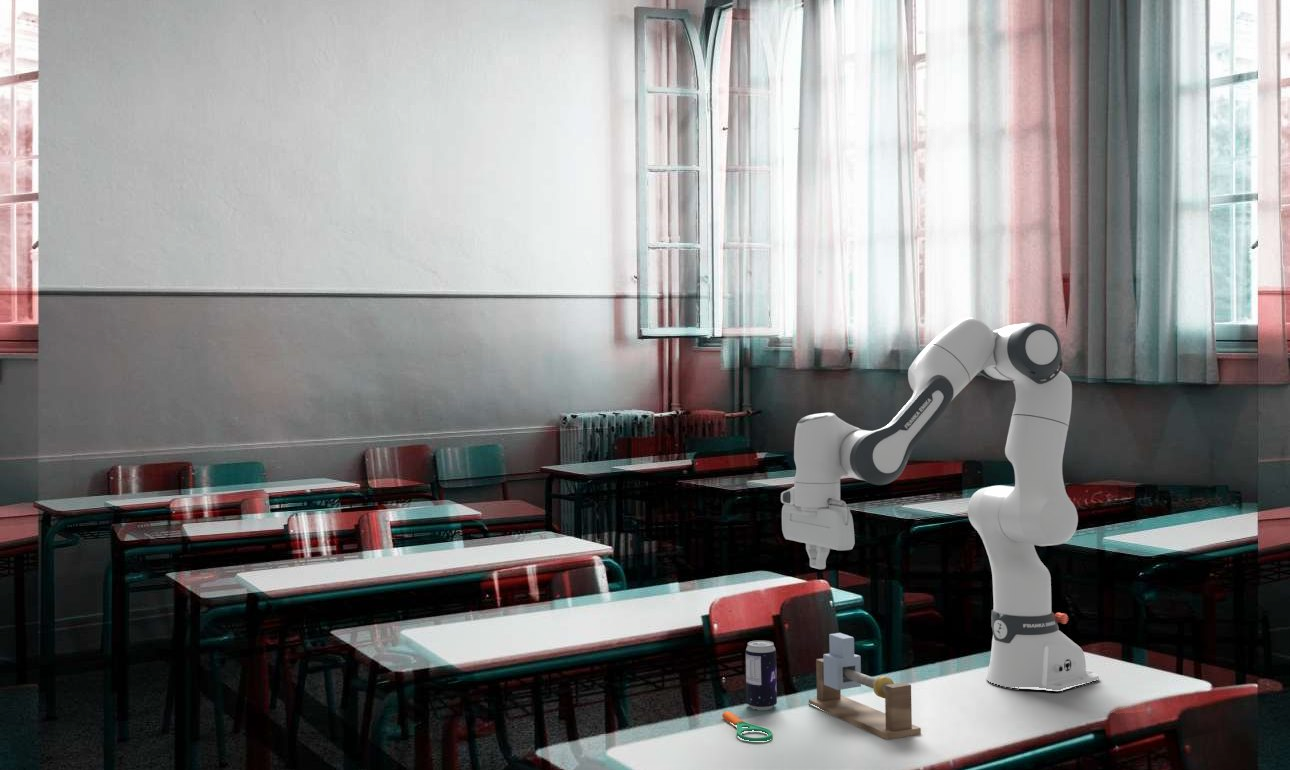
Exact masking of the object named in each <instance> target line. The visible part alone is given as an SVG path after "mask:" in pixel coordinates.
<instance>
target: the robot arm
mask: <svg viewBox="0 0 1290 770" xmlns="http://www.w3.org/2000/svg"><path fill="white" fill-rule="evenodd" d="M1062 354H1063V353H1062V344H1061V341H1060V338H1059V336H1058V334H1057V332H1056V331H1055V329H1053V328H1052V327H1050V326H1049V325H1047V324H1044V323H1041V322H1036V321H1028V322H1023V323H1014V324H1010V325H1009V324H1008V325H1006V326H1004V327H1002V328H1001V327H1000V328H998V329H994V330H992V329H990V327H989V326H988V325H987V324H986V323H985V322H983V321H982V320H979V319H977V318H974V317H964V318H961V319H959V320H957V321H955V322H954V323H952V324H951V325H949V326H948V327H947V328H945V329H944V330H942V332H940V333H939V334H938V335H937V336H936V337H934V339H932V340H931V341H930V342H929V343H928V344H927V345H926V346H925V347H924V348H923V349H922V350H921V351H920V352H919V354H918V355H917V356H916V357H915V358H914V360H913V361H912V363H911V364H910V366H909V368H908V369H907V370H908V371H907V379H908V384H909V386H910V388H911V390H912V391H913V392H912V396H911V397H910V399H909V400H908V401H907V402H906V404H904V406H903V407H902V408H901V409H900V411H898V412H897V414H896V415H895V416H894V417H893V418H892V420H890V422H889V423H888V424H887V425H885V426H883V427H880V428H879V429H875V430H866V429H861V428H859V427H857V426H854V425H852V424H850V423H848V422H846V421H845V420H843V419H841V418H839V417H838V416H837V415H836V414H835V413H833V412H820V413H813V414H809V415H806V416H804V417H801V418H800V420H798V422H797V423H796V427H795V432H794V442H793V443H794V446H793V460H794V464H795V468H796V469H795V470H796V471H795V476H794V479H793V481H794V482H793V484H794V485H793V487H791V488H788V489H787V490H784V491H782V492H781V493H780V502H781V503H782V504H783V505H782V508H781V531H782V534H783V537H784V539H785V540H789V541H794V542H798V543H801V544H802V543H804V544H805V550H806V552H807V555H808V558H809V567H810V568H814V569H818V570H825V569H826V568H827V565H826V563H827V558H828V556H829V554H830V551H831V550H836V551H850V550H853V548H854V546H855V544H856V543H855V541H856V540H855V529H854V526H855V525H854V519H853V515H852V513H851V509H850V507H849V506H848V505H847V503H846V501H844V500H842V499H841V478H842V477H843V476H846V477H848V478H852V479H854V480H855V479H856V480H860V481H865V482H867V483H869V484H871V485H874V486H875V485H876V486H884V485H888V484H890V483H892V482H894V481H896V480H897V479H899V477H900V476H901V475H902V473H903V472H904V471H905V468H906V467H907V464H908V462H909V459H910V456H911V454H912V451H914V450H913V449H914V448H915V447H916V445H917V444H918V443H919V441H920V440H921V439H923V437H924V436H925V434H926V433H928V431H929V430H930V429H931V428H932V426H933V425H934V424H935V422H937V421H938V419H939V418H940V417H941V416H942V415H943V413H944V412H945V411H946V409H948V408H947V407H948V406H949V405H950V404H951V402H952V401H953V400H954V399H955V398H956V397H957V395H958V394H960V392H962V390H963V389H964V388H965V387H966V386H967V385H968V384H969V383H970V382H972V381H973V379H974V378H975V377H976V376H977V374H981V375H982V376H984V377H986V378H987V379H990V380H993V381H997V382H1002V381H1003V382H1004V381H1012V382H1013V385H1014V389H1015V402H1014V407H1013V409H1012V414H1011V417H1010V423H1009V427H1008V432H1007V438H1006V443H1005V447H1004V454H1005V457H1006V458H1007V460H1008V461H1009V462H1010V463H1011V465H1012V467H1013V470H1014V483H1015V484H1014V486H1013V485H1012V486H1011V485H1005V484H1003V485H1002V484H1000V485H999V484H998V485H997V484H996V485H991V486H987V487H986V486H985V487H981V488H980V489H978V490H977V491H975V492H974V493H972V495H971V497H970V499H969V502H968V505H967V517H968V520H969V522H970V524H971V526H972V527H973V528H974V530H975V531H977V532H976V533H978V535H979V536H980V539H981V540H982V543H983V545H984V548H985V550H986V554H987V556H988V560H989V565H990V568H991V570H990V571H991V575H992V576H991V577H992V597H993V598H992V599H993V609H991V616H990V618H991V628H992V639H991V649H990V660H989V666H988V668H987V673H986V674H987V675H986V677H985V679H987V680H988V681H989V682H988V681H987V680H986V681H987V682H988V683H990V682H991V683H990V684H992V683H994V684H993V685H995V684H997V685H996V686H998V685H1000V686H999V687H1001V686H1006V687H1014V688H1015V687H1018V688H1019V687H1039V688H1046V689H1052V690H1061V689H1063V688H1066V687H1070V686H1074V685H1078V684H1082V683H1087V682H1091V681H1094V680H1097V679H1099V680H1100V676H1099V675H1098V674H1097V673H1096V672H1094V671H1092V670H1089V669H1087V663H1086V656H1085V653H1084V651H1083V649H1082V648H1081V647H1080V646H1079V645H1078V644H1077V643H1075V642H1074V641H1073V640H1072V639H1071V638H1069V637H1068V636H1067V635H1066V634H1064V633H1063V632H1062V631H1061V630H1059V629H1060V628H1059V625H1058V623H1061V624H1063V625H1065V624H1067V623H1068V621H1069V616H1068V615H1067V613H1063V612H1062V613H1061V612H1056V613H1054V612H1053V611H1052V585H1051V584H1052V581H1051V580H1052V577H1051V573H1050V570H1049V569H1048V567H1046V565H1044V563H1043V562H1042V561H1041V559H1040V557H1039V555H1038V553H1037V551H1036V548H1035V546H1037V547H1038V546H1039V547H1047V546H1058V545H1062V544H1066V543H1067V542H1068V541H1069V540H1071V538H1072V537H1074V534H1075V533H1076V531H1077V527H1078V523H1079V515H1078V511H1077V508H1076V506H1075V504H1074V503H1073V501H1072V500H1071V499H1070V497H1069V495H1068V494H1067V492H1066V491H1067V490H1066V487H1065V483H1064V475H1063V458H1064V452H1065V446H1066V441H1067V436H1068V431H1069V426H1070V420H1071V415H1072V414H1071V413H1072V400H1073V385H1072V380H1071V379H1070V377H1069V376H1068V375H1067V374H1066V373H1065V372H1063V371H1061V369H1062V367H1063V360H1062ZM1006 687H1005V688H1006Z"/></svg>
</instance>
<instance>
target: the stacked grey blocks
mask: <svg viewBox="0 0 1290 770" xmlns="http://www.w3.org/2000/svg"><path fill="white" fill-rule="evenodd" d="M828 635H829V637H828V639H829V642H828V644H829V653H824V654H823V655H822V656H823V658H822V659H823V663H824V685H826V686H829V687H831V688H834V689H836V690H847V689H852V688H858V687H862V684H860V683H857V682H855V681H852V680H849V679H847V678H844V677H843V667H846V668H848V669H851V670H854V671H857V672H859V673H862V668H861V667H862V666H861V665H862V664H861V663H862V662H861V661H862V660H861V659H862V657H861V655H859V654H855V638H854V637H853V636H850V635H848V634H845V633H842V632H836V633H829V634H828Z"/></svg>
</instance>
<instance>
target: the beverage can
mask: <svg viewBox="0 0 1290 770" xmlns="http://www.w3.org/2000/svg"><path fill="white" fill-rule="evenodd" d="M745 682H746V683H745V685H746V687H745V688H746V689H745V690H746V693H745V696H746V698H745V699H746V704H747V705H748V706H749V707H750V708H751V709H752V710H755V709H757V710H756V711H769V710H772V709H773V708H774V706H775V705H777V703H778V692H777V690H778V689H777V685H778V684H777V650H776V647H775V644H774V642H773V641H770V640H752V641H749V642H747V646H746V649H745Z"/></svg>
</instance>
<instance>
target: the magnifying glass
mask: <svg viewBox="0 0 1290 770" xmlns="http://www.w3.org/2000/svg"><path fill="white" fill-rule="evenodd" d="M721 715H722V716H721V717H722V719H723V720H725V721H726V722H727V721H728V722H727V723H729V722H731V723H733V724H734V725H737V728H736V737H737V736H739V737H740V738H742V739H744V740H749V741H767V740H770V739H772V740H773V735H774V734H773V732H772V730H770V729H769V728H766V727H763V726H760V725H757V724H756V725H755V724H753V723H749V722H746V721H743V720H742V719H741V718H739V717H738V716H737V715H735V714H734V713H732V712H731V711H724V712H723V713H722V714H721ZM742 727H748V728H742ZM752 730H754V731H762V732H765V733H767V734H768V736H767V735H764V736H762V737H760V736H759V737H751V736H747V735H744V734H743V735H741V733H742V732H744V731H752ZM770 741H771V740H770Z"/></svg>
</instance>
